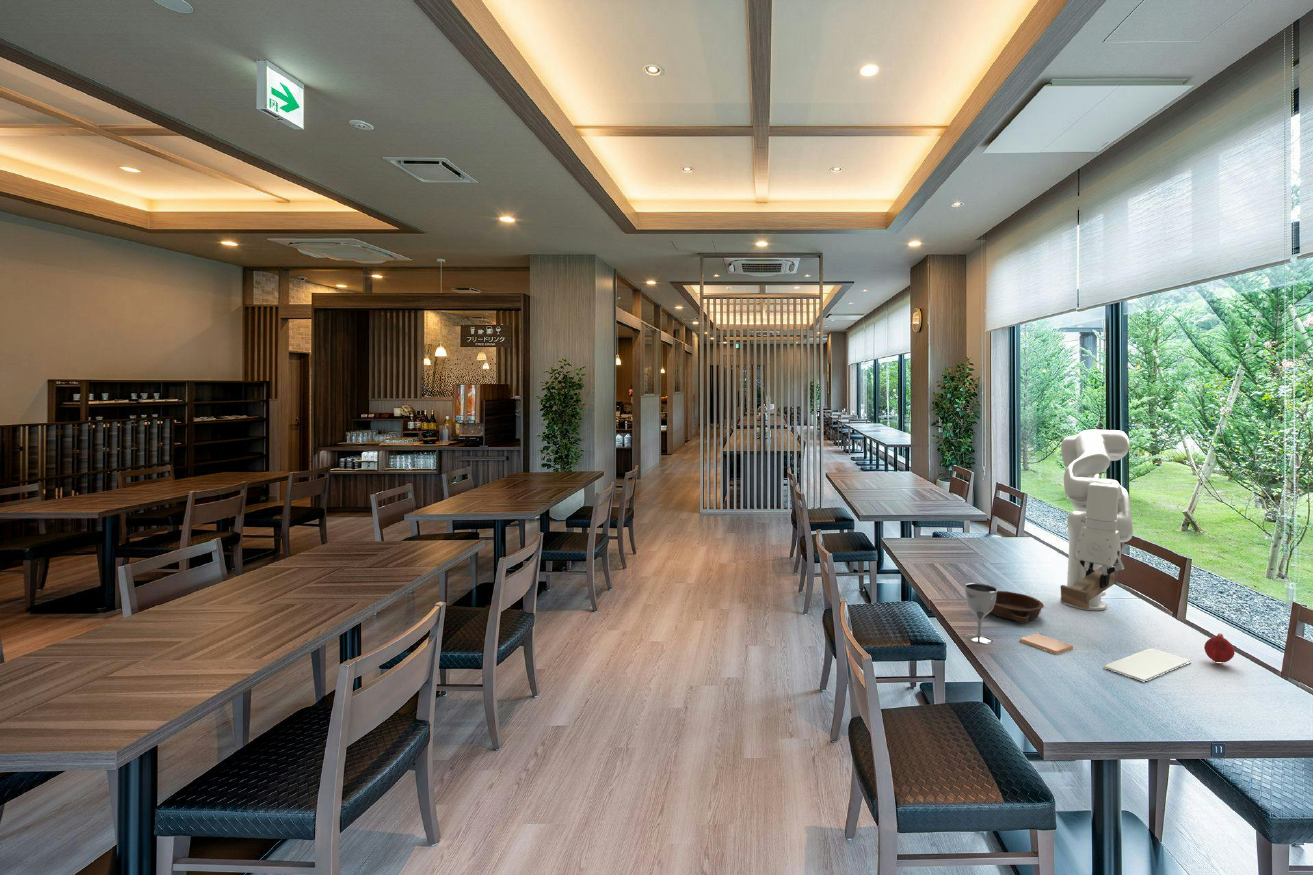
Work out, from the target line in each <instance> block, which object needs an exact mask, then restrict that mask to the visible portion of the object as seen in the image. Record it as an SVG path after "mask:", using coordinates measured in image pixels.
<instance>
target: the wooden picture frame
mask: <svg viewBox="0 0 1313 875" xmlns="http://www.w3.org/2000/svg"><path fill="white" fill-rule="evenodd" d="M1019 642H1020V643H1022V644H1025V643H1026V644H1025V645H1027V646H1030V645H1032V646H1031V647H1033V646H1035V647H1034V648H1036V647H1039V648H1041V649H1040V650H1042V649H1045V650H1047V651H1048V653H1050V652H1052V653H1051V654H1053V653H1054V655H1056V654H1057V655H1060V654H1063V653H1066V652H1069V651H1071V650H1070V649H1072V650H1074V645H1072V644H1069V643H1067V642H1063V641H1060V640H1057V639H1054V638H1052V637H1050V636H1046V635H1043V634H1040V633H1037V632H1035V633H1033V634H1029V635H1026V636H1022V637H1020V638H1019ZM1039 648H1038V649H1039ZM1068 650H1069V651H1068ZM1047 651H1046V652H1047ZM1065 651H1066V652H1065ZM1062 652H1063V653H1062ZM1059 653H1060V654H1059Z"/></svg>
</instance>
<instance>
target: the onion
mask: <svg viewBox="0 0 1313 875" xmlns="http://www.w3.org/2000/svg"><path fill="white" fill-rule="evenodd" d="M1203 647H1204V652H1205V654H1206V655H1207V657H1208V658H1209V659H1210V660H1212V661H1213V662H1214V661H1215V662H1224V663H1227V662H1229V661H1230V660H1232V659H1233V658H1234V656H1235V647H1234V646H1233V644H1232V643H1231V642H1230V641H1229V640H1228V639H1226V638H1225V637H1224V634H1223V633H1221V632H1220V633H1217V635H1216V636H1213V637H1211V638H1209V639H1208V640H1206V642H1205V643H1204V646H1203ZM1215 662H1214V663H1215Z"/></svg>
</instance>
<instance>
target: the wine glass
mask: <svg viewBox="0 0 1313 875" xmlns="http://www.w3.org/2000/svg"><path fill="white" fill-rule="evenodd" d="M964 589H965V590H964V592H965V593H964V594H965V601H966V605H967V606H968V608H969V610H970V611H972V614H974V615H975V618H976V622H977V623H976V624H977V632H976V633H977V634H975V633H970V634H966V635H965V636H964V638H965V639H966V640H967V641H969V642H971V643H975V644H979V645H991V644H993V643H994V641H993V639H992V638H991V637H988V636H986V635H982V634H981V633H982V632H981V631H982V624H983V620H984V619H985V617H986V616H987V615H989V614H991V613H990V612H991V611H992V610H993V608H994V606H995V603H996V599H997V591H998V589H997V588H996V587H995V586H993V585H990V584H984V583H979V582H970V583H966V584H965V588H964Z"/></svg>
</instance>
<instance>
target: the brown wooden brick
mask: <svg viewBox="0 0 1313 875" xmlns="http://www.w3.org/2000/svg"><path fill="white" fill-rule="evenodd" d="M1115 572H1116V571H1115ZM1115 572H1113V573H1112V574H1110V578H1109V585H1108V586H1107V587H1105V588H1100V575H1102V567H1100V568H1099V569H1097V570H1095V571H1094V572H1093V573H1091V574H1089V575H1087V576H1086V577H1084V578H1083V579H1081V580H1080V581H1078V582H1076V583H1075V584H1073V585H1072V586H1070V587H1069V586H1067V585H1065V584H1061V585H1060V602H1061V603H1062V602H1064V603H1068V604H1071V605H1074V606H1078V607H1081V608H1084V609H1088V608H1089V601H1090V600H1091V599H1093V598H1094V597H1096V596H1097V595H1099V594H1100V593H1102V592H1103V591H1105V592H1106V591H1107V590H1108V589H1109V588H1111V587H1112V586H1113V585H1115V584H1116V575H1115ZM1064 603H1063V604H1064ZM1084 609H1083V610H1084Z"/></svg>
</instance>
